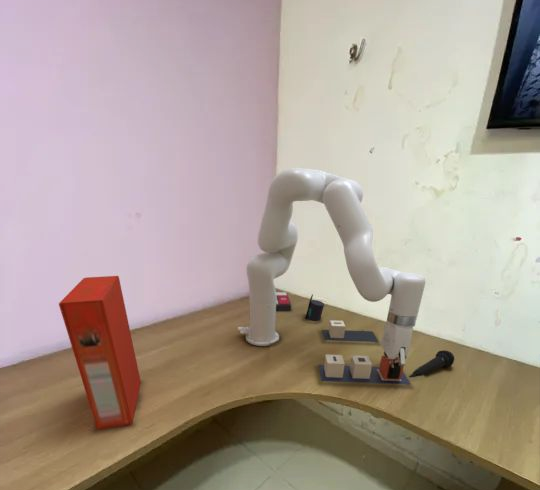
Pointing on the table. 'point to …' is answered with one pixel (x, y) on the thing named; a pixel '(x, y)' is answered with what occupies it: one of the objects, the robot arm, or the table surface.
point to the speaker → (314, 310)
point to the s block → (387, 367)
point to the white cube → (334, 366)
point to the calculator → (282, 302)
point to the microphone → (435, 363)
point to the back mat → (352, 336)
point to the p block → (360, 367)
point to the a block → (336, 329)
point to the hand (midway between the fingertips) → (389, 372)
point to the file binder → (103, 349)
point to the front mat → (374, 378)
